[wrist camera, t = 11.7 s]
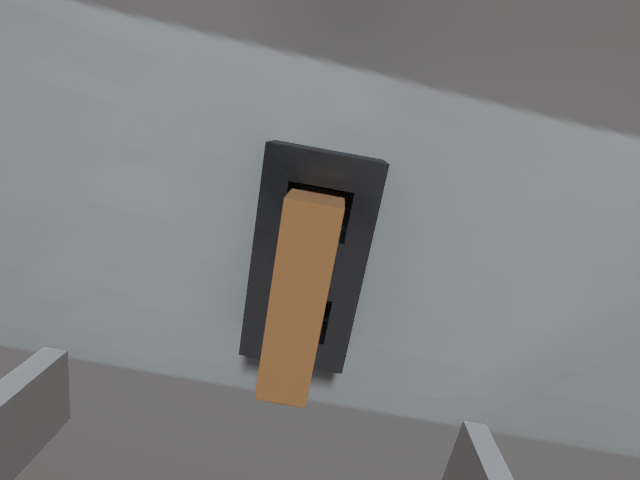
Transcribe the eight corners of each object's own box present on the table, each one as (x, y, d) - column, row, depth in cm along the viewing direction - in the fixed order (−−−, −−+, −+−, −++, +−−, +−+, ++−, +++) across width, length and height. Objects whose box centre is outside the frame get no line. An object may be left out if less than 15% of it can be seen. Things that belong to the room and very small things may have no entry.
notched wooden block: (316, 322, 31) (305, 408, 21) (281, 315, 31) (254, 399, 21) (343, 181, 27) (344, 209, 18) (304, 173, 27) (283, 197, 18)
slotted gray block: (341, 347, 31) (341, 373, 28) (249, 330, 32) (239, 354, 28) (383, 159, 27) (389, 164, 23) (275, 140, 27) (265, 141, 23)
